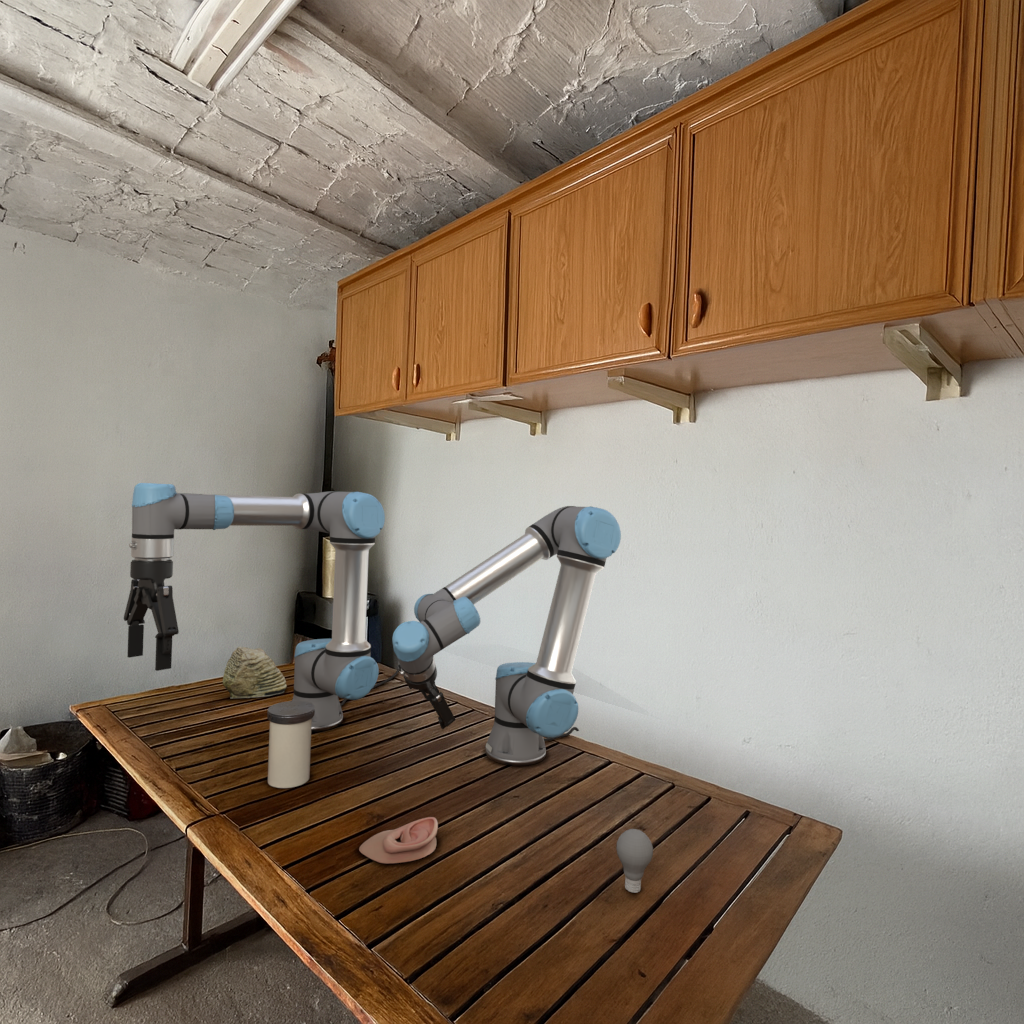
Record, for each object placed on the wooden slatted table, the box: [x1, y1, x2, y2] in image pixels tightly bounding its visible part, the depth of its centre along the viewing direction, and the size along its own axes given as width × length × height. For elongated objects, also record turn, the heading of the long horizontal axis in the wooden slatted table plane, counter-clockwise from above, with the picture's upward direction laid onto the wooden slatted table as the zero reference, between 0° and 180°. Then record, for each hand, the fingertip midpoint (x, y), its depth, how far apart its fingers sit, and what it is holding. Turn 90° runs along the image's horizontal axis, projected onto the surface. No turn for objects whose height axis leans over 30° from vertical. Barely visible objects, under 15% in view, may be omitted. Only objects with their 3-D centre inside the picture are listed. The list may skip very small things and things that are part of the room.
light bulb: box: [615, 828, 654, 894], centre depth 106 cm, size 6×6×10 cm
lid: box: [266, 700, 315, 724], centre depth 141 cm, size 10×10×2 cm
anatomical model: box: [358, 816, 439, 864], centre depth 116 cm, size 13×4×12 cm
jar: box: [266, 719, 312, 789], centre depth 141 cm, size 9×9×16 cm
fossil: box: [222, 646, 288, 699], centre depth 198 cm, size 9×18×15 cm, turn 132°
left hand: (148, 662), depth 129 cm, fingers open, 13 cm apart
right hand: (429, 704), depth 159 cm, fingers open, 13 cm apart
